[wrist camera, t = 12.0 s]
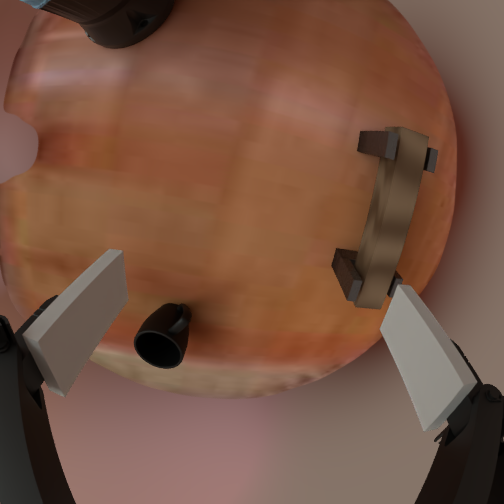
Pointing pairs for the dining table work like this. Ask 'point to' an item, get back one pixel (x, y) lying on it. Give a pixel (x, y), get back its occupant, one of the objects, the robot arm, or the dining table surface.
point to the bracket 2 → (354, 274)
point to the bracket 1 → (390, 147)
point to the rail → (389, 216)
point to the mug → (164, 336)
